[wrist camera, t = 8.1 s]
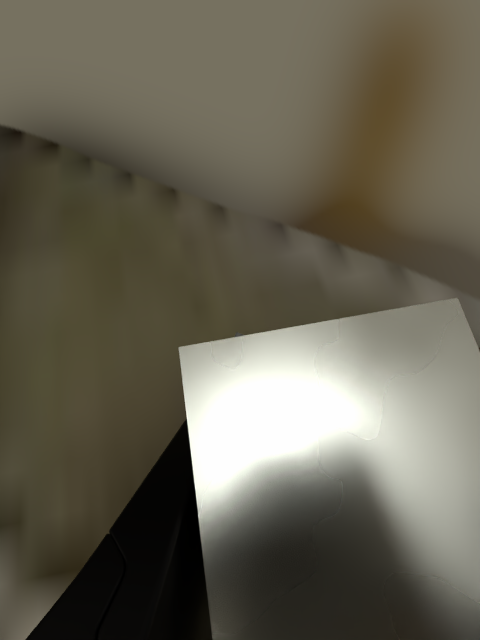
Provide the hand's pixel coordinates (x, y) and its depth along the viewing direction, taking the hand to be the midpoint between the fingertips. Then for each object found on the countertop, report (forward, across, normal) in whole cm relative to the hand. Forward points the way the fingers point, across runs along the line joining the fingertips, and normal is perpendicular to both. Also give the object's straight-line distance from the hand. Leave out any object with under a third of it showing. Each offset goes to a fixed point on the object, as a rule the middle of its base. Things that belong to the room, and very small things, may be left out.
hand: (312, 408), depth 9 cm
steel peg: (+3, 0, +5) cm, 5 cm away
